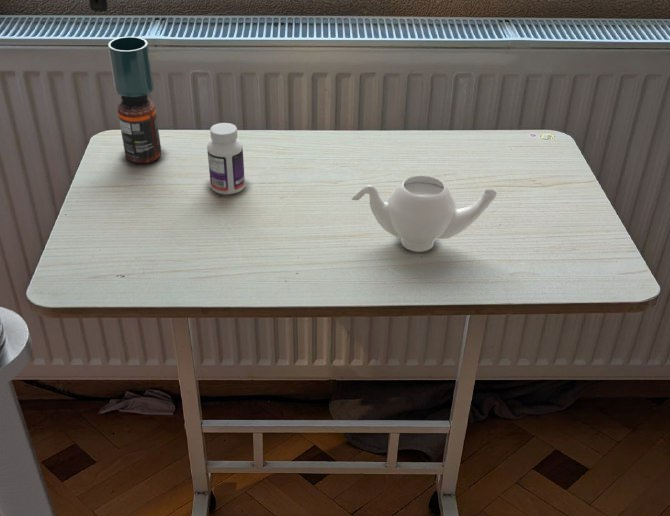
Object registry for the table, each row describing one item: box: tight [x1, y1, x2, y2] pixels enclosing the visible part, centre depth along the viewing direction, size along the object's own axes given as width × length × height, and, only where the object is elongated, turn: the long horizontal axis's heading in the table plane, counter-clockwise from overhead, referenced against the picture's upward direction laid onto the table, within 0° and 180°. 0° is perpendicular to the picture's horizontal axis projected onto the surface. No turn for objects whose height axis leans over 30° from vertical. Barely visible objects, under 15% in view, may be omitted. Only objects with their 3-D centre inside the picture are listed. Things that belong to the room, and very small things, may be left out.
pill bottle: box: [206, 122, 246, 195], centre depth 128 cm, size 5×5×10 cm
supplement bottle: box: [117, 94, 162, 164], centre depth 134 cm, size 6×6×11 cm
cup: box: [107, 36, 154, 97], centre depth 127 cm, size 6×6×7 cm
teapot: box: [350, 175, 497, 253], centre depth 118 cm, size 10×20×9 cm, turn 82°
